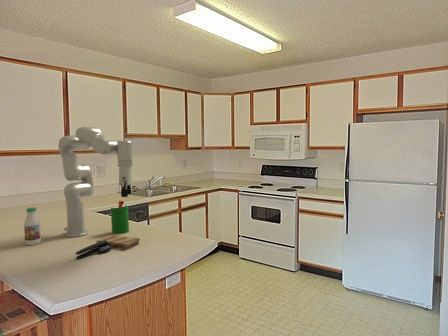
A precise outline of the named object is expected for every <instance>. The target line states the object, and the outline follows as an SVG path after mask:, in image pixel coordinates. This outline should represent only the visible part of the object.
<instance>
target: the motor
mask: <svg viewBox="0 0 448 336" xmlns="http://www.w3.org/2000/svg"><path fill="white" fill-rule="evenodd" d="M123 205H124V200H119V201H118V207H117V208H116V207H110V217H111V219H110V221H111V233H112V234H114V235H118V234H121V235H122V234H126V233H129V232H130V224H129V223H130V222H129V221H130V220H129V206H128V205H125V206H124V207H123Z"/></svg>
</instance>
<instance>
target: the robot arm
mask: <svg viewBox="0 0 448 336" xmlns="http://www.w3.org/2000/svg"><path fill="white" fill-rule="evenodd" d="M57 146H58V151H59V154H60V157H61V160H62V169H63V174H64V178H65V180H67V181H69V182H70V181H71V182H72V183H68V184H67V185H65V186H64V189H63V193H64V194H63V195H64V199H65V202H66V203H65V205H66V222H67V223H66V224H67V225H66V226H65V227H64V228H63V231H66V232H65V233H64V236H65V237H67V238H78V237H83V236H86V235H87V234H88V230H85V229H86V228H85V227H86V226H85V225H86V224H85V207H84V203H83V201H82V200H81V198H86V197H88V198H89V197H90V196H92V195H93V194H94V191H95V186H94V179H93V173H92V170H91V168H90V166H89V165H88V164H83V163H82V164H79V159H78V156H77V154H76V153H75V152H74V150H79V151H81V150H82V151H83V150H89V149H91V148H92V151H94V152H96V153H98V154H101V155H106V156H110V155H117V167H118V185H119V186H120V196H121V197H120V198H127V197H128V195H131V194H132V186H131V183H132V169H131V168H132V167H133V147H132V146H133V144H132V142H131V140H105V139H104V135H103V134H102V130H101V129H99V128H98V127H93V126H80V127H78V128H77V129H76V131H75V135H64V136H62V137H61V138H60V139H59V140H58V145H57ZM74 181H78V182H74ZM79 181H80V182H79Z"/></svg>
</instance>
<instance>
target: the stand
mask: <svg viewBox="0 0 448 336" xmlns="http://www.w3.org/2000/svg"><path fill="white" fill-rule="evenodd" d="M140 240H141V239H140V238H139V237H131V236H121V235H120V236H119V235H112V234H110V235H107V236H105V237H101V238H100V239H97V240H96V242H95V244H96V243H97V242H102V241H107V242H108V245H109V246H110V247H111V249H115V248H117V247H119V246H121V249H122V250H124V251H125V250H128V249H131V248H132V247H135V246H137V245H139V243H140Z"/></svg>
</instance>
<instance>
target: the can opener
mask: <svg viewBox="0 0 448 336" xmlns="http://www.w3.org/2000/svg"><path fill="white" fill-rule="evenodd" d="M111 250H112V248H111V247H110V245H109V244H108V242H107V241H102V242H97V243H96V242H95V243H93V244H90V245H89V246H86V247H84V248H82V249H80V250H78V251H76V252H75V255H77V256H76V257H75V259H76V260H81V259H84V258H86V257H89V256H91V255H92V254H95V253H98V254H101V255H103V254H107V253H108V252H110V251H111Z"/></svg>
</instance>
